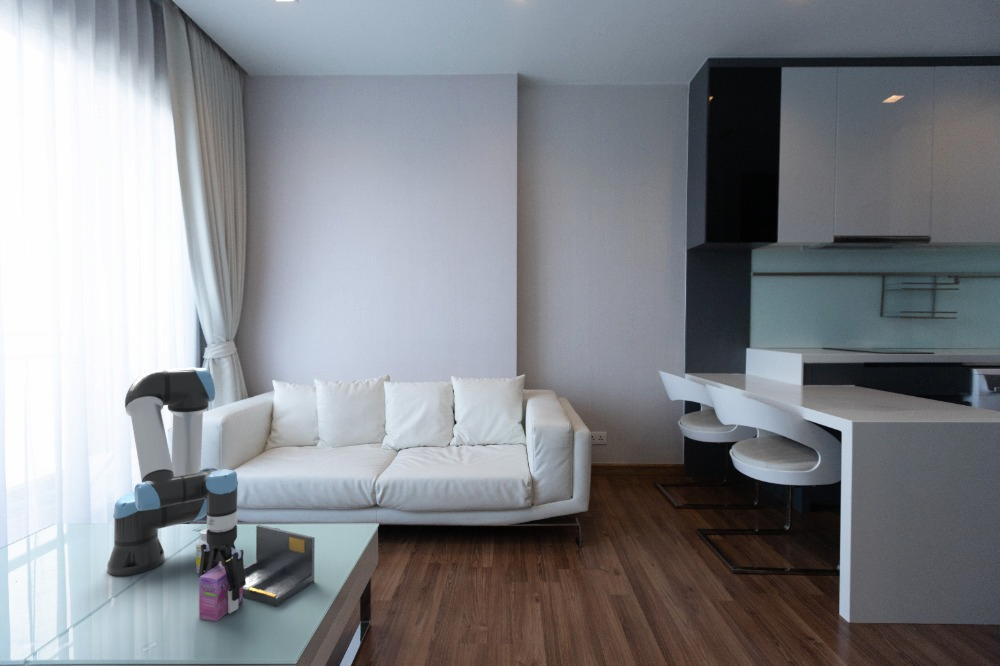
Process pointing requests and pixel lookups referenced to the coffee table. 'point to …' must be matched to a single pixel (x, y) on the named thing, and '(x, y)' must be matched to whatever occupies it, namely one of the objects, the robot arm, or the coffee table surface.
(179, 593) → the coffee table surface
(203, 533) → the supplement bottle
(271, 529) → the rack
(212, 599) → the box
